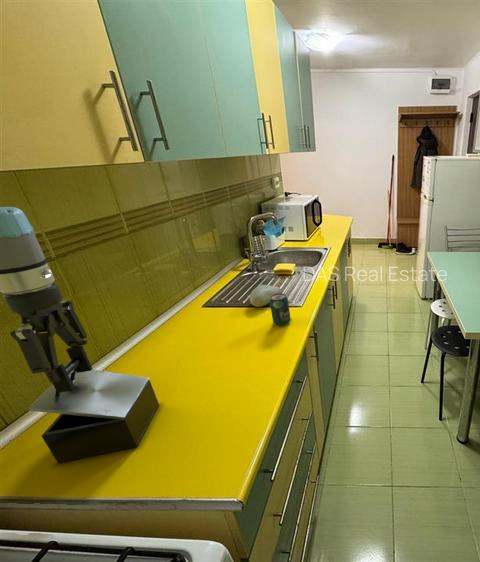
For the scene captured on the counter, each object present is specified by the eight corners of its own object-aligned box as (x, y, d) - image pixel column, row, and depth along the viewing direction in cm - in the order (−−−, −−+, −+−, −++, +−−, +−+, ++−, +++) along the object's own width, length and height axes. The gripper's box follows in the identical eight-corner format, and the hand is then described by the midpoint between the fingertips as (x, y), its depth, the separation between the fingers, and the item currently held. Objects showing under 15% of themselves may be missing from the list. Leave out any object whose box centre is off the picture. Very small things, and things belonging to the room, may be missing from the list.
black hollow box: (58, 463, 68) (40, 435, 65) (93, 417, 80) (80, 391, 77) (137, 447, 72) (124, 420, 68) (159, 405, 84) (149, 380, 80)
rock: (242, 309, 134) (261, 292, 152) (267, 311, 133) (283, 294, 152) (240, 293, 131) (260, 278, 150) (266, 296, 130) (282, 280, 149)
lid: (27, 410, 62) (30, 384, 60) (70, 368, 74) (74, 346, 72) (124, 420, 68) (129, 396, 67) (149, 380, 80) (154, 359, 79)
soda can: (286, 328, 120) (282, 301, 116) (270, 326, 122) (265, 299, 117) (293, 319, 127) (290, 293, 122) (278, 317, 128) (274, 292, 123)
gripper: (14, 306, 52) (68, 408, 61) (82, 269, 69) (116, 353, 78) (-42, 312, 51) (22, 415, 60) (42, 272, 68) (82, 357, 77)
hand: (76, 380), depth 69 cm, fingers closed on lid, 6 cm apart
